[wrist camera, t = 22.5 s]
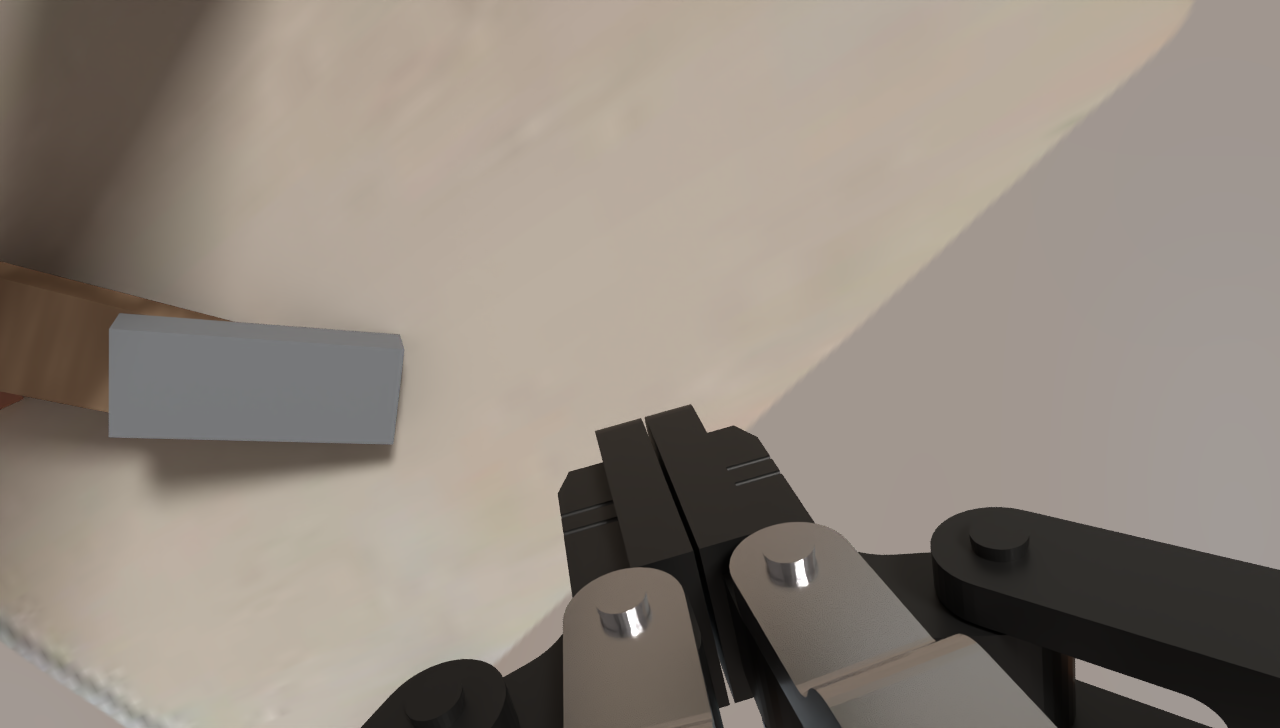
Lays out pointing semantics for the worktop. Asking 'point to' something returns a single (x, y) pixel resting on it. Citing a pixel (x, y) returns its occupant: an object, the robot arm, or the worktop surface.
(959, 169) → the worktop surface
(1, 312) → the domino
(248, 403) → the gray domino
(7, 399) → the domino
